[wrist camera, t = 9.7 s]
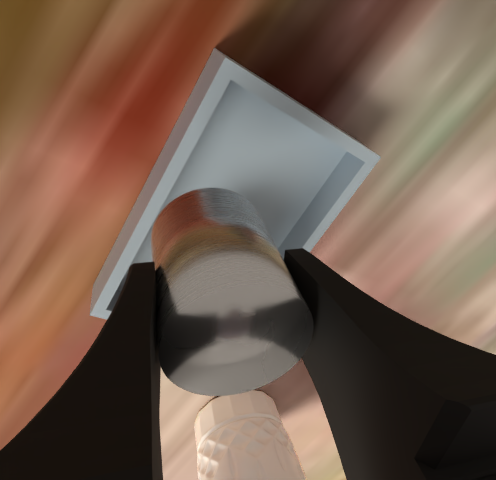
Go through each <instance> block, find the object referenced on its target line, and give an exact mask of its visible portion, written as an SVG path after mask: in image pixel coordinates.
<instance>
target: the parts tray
mask: <svg viewBox="0 0 496 480" xmlns="http://www.w3.org/2000/svg"><path fill="white" fill-rule="evenodd" d="M380 158H381V157H380V156H379V155H377V154H376V153H375V152H373V151H372V150H371V149H369V148H368V147H366V146H365V145H364V144H362V143H361V142H359V141H358V140H356V139H355V138H353V137H352V136H350V135H349V134H347V133H346V132H344V131H343V130H341V129H339V128H338V127H336V126H335V125H333V124H332V123H330V122H329V121H327V120H326V119H324V118H322V117H321V116H319V115H318V114H316V113H315V112H313V111H312V110H310V109H309V108H307V107H305V106H304V105H302V104H301V103H299V102H298V101H296V100H295V99H293V98H292V97H290V96H288V95H287V94H285V93H284V92H282V91H281V90H279V89H278V88H276V87H275V86H273V85H271V84H270V83H268V82H267V81H265V80H264V79H262V78H261V77H259V76H257V75H256V74H254V73H253V72H251V71H250V70H248V69H247V68H245V67H244V66H242V65H240V64H239V63H237V62H236V61H234V60H233V59H231V58H230V57H228V56H227V55H225V54H223V53H222V52H220V51H219V50H217V49H216V48H214V49H213V51H212V53H211V55H210V57H209V59H208V61H207V63H206V65H205V67H204V69H203V71H202V73H201V75H200V77H199V79H198V81H197V83H196V85H195V87H194V89H193V91H192V93H191V94H190V96H189V98H188V100H187V102H186V104H185V106H184V108H183V110H182V112H181V114H180V116H179V118H178V120H177V122H176V124H175V126H174V128H173V130H172V132H171V134H170V136H169V138H168V140H167V141H166V143H165V145H164V147H163V149H162V151H161V153H160V155H159V157H158V159H157V161H156V163H155V165H154V167H153V169H152V171H151V173H150V175H149V177H148V179H147V181H146V183H145V185H144V187H143V189H142V190H141V192H140V194H139V196H138V198H137V200H136V202H135V204H134V206H133V208H132V210H131V212H130V214H129V216H128V218H127V220H126V222H125V224H124V226H123V228H122V230H121V232H120V234H119V236H118V238H117V239H116V241H115V243H114V245H113V247H112V249H111V251H110V253H109V255H108V257H107V259H106V261H105V263H104V265H103V267H102V269H101V271H100V273H99V275H98V277H97V279H96V281H95V283H94V285H93V290H92V299H91V308H90V315H91V316H95V317H99V318H103V319H108V318H109V316H110V314H111V312H112V310H113V308H114V306H115V304H116V302H117V300H118V297H119V295H120V293H121V291H122V288H123V286H124V283H125V281H126V278H127V275H128V271H129V267H130V266H131V265H132V264H133V263H143V262H152V250H151V233H152V229H153V225H154V223H155V221H156V219H157V217H158V215H159V214H160V212H161V211H162V210H163V209H164V208H165V207H166V206H167V205H168V204H169V203H170V202H171V201H173V200H174V199H176V198H177V197H179V196H181V195H183V194H185V193H187V192H190V191H193V190H197V189H201V188H223V189H228V190H231V191H234V192H236V193H239V194H240V195H242V196H244V197H245V198H247V199H248V200H249V201H250V202H251V203H252V204H253V205H254V206H255V208H256V209H257V210H258V212H259V214H260V216H261V218H262V220H263V222H264V224H265V226H266V228H267V230H268V232H269V233H270V235H271V237H272V239H273V241H274V243H275V245H276V247H277V249H278V251H279V253H280V254H281V256H282V258H283V260H284V254H285V250H288V249H299V248H304V249H305V250H307V251H308V252H310V251H311V250H312V248H313V247H314V246H315V244H316V243H317V242H318V240H319V239H320V238H321V237H322V235H323V234H324V233H325V231H326V230H327V229H328V227H329V226H330V225H331V223H332V222H333V221H334V219H335V218H336V217H337V215H338V214H339V213H340V211H341V210H342V209H343V207H344V206H345V205H346V203H347V202H348V201H349V199H350V198H351V197H352V195H353V194H354V193H355V191H356V190H357V189H358V187H359V186H360V185H361V183H362V182H363V181H364V179H365V178H366V177H367V175H368V174H369V173H370V171H371V170H372V169H373V167H374V166H375V165H376V163H377V162H378V161H379V159H380Z"/></svg>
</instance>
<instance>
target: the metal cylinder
mask: <svg viewBox="0 0 496 480" xmlns="http://www.w3.org/2000/svg"><path fill="white" fill-rule="evenodd" d="M151 250H152V262H154V263H155V275H156V288H157V340H158V355H159V362H160V366H161V368H162V370H163V372H164V373H165V375H166V376H167V378H169V379H170V380H171V381H172V382H173V383H174V384H175V385H177V386H178V387H180V388H182V389H184V390H187V391H189V392H192V393H196V394H200V395H208V396H227V395H235V394H240V393H244V392H248V391H251V390H255V389H257V388H260V387H262V386H264V385H266V384H269V383H271V382H272V381H274V380H276V379H278V378H279V377H281V376H282V375H284V374H285V373H286V372H288V371H289V370H290V369H291V368H292V367H293V366H294V365H295V364H296V363H297V362H298V361H299V360H300V359H301V357H302V356H303V355H304V353H305V352H306V350H307V349H308V346H309V344H310V342H311V339H312V335H313V328H314V326H313V318H312V314H311V312H310V310H309V308H308V306H307V304H306V302H305V300H304V298H303V297H302V295H301V293H300V291H299V289H298V287H297V285H296V283H295V281H294V279H293V277H292V275H291V274H290V272H289V270H288V268H287V266H286V264H285V262H284V260H283V258H282V256H281V254H280V253H279V251H278V249H277V247H276V245H275V243H274V241H273V239H272V237H271V235H270V233H269V232H268V230H267V228H266V226H265V224H264V222H263V220H262V218H261V216H260V214H259V212H258V210H257V209H256V208H255V206H254V205H253V204H252V203H251V202H250V201H249V200H248V199H247V198H245V197H244V196H242V195H240V194H239V193H236V192H234V191H231V190H228V189H223V188H201V189H197V190H193V191H190V192H187V193H185V194H183V195H181V196H179V197H177V198H176V199H174V200H173V201H171V202H170V203H169V204H168V205H167V206H166V207H165V208H164V209H163V210H162V211H161V212H160V214H159V215H158V217H157V219H156V221H155V223H154V225H153V229H152V233H151Z"/></svg>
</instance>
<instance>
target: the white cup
mask: <svg viewBox="0 0 496 480" xmlns="http://www.w3.org/2000/svg"><path fill="white" fill-rule="evenodd" d="M194 427H195V436H196V446H197V452H198V455H197V471H198V479H199V480H307V478H306V475H305V473H304V470H303V468H302V465H301V463H300V460H299V458H298V455H297V453H296V451H295V449H294V447H293V444H292V442H291V439H290V437H289V435H288V433H287V432H286V430H285V428H284V427H283V423H282V421H281V418H280V416H279V413H278V411H277V408H276V405H275V403H274V400H273V399H272V398H271V397H269V396H268V395H267V394H265V393H264V392H262V391H256V390H251V391H248V392H244V393H240V394H235V395H227V396H219V397H217V398H215V399H213V400H211V401H210V402H209V403H208V404H207V405H206V406H205V407H204V408H202V409H201V410H200V411H199V413H198V416H197V418H196V421H195V424H194Z"/></svg>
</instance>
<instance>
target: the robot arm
mask: <svg viewBox="0 0 496 480" xmlns="http://www.w3.org/2000/svg"><path fill="white" fill-rule="evenodd" d="M284 262H285V264H286V266H287V268H288V270H289V272H290V274H291V275H292V277H293V279H294V281H295V283H296V285H297V287H298V289H299V291H300V293H301V295H302V297H303V298H304V300H305V302H306V304H307V306H308V308H309V310H310V312H311V314H312V318H313V326H314V328H313V335H312V339H311V342H310V344H309V346H308V349H307V350H306V352H305V353H304V355H303V356H302V359H303V361H304V364H305V366H306V368H307V370H308V372H309V374H310V376H311V378H312V380H313V383H314V385H315V387H316V390H317V392H318V394H319V397H320V399H321V402H322V405H323V408H324V411H325V414H326V417H327V419H328V422H329V425H330V428H331V431H332V434H333V437H334V440H335V443H336V447H337V450H338V453H339V456H340V459H341V462H342V466H343V469H344V472H345V476H346V479H347V480H496V355H494V354H491V353H488V352H485V351H483V350H480V349H477V348H475V347H472V346H469V345H467V344H464V343H461V342H459V341H456V340H454V339H451V338H449V337H447V336H444V335H442V334H440V333H438V332H435V331H433V330H431V329H429V328H427V327H424V326H422V325H420V324H418V323H416V322H414V321H412V320H410V319H408V318H406V317H405V316H403V315H401V314H399V313H397V312H395V311H394V310H392V309H390V308H388V307H387V306H385V305H383V304H382V303H380V302H378V301H377V300H375V299H374V298H372V297H371V296H369V295H367V294H366V293H364V292H363V291H361V290H360V289H358V288H357V287H355V286H354V285H353V284H351V283H350V282H348V281H347V280H346V279H344V278H343V277H341V276H340V275H339V274H337V273H336V272H335V271H333V270H332V269H331V268H329V267H328V266H327V265H325V264H324V263H323V262H321V261H320V260H319V259H317V258H316V257H315V256H313V255H312V254H311V253H309V252H308V251H307V250H305V249H304V248H299V249H288V250H285V254H284ZM160 367H161V366H160V362H159V355H158V340H157V288H156V275H155V263H154V262H143V263H133V264H132V265H131V266H130V267H129V271H128V275H127V278H126V281H125V283H124V286H123V288H122V291H121V293H120V295H119V297H118V300H117V302H116V304H115V306H114V308H113V310H112V312H111V314H110V316H109V318H108V319H107V321H106V323H105V324H104V326H103V328H102V330H101V331H100V333H99V335H98V337H97V338H96V340H95V341H94V343H93V344H92V346H91V348H90V349H89V350H88V352H87V353H86V355H85V356H84V358H83V359H82V360H81V362H80V363H79V365H78V366H77V367H76V369H75V370H74V371H73V372H72V374H71V375H70V376H69V378H68V379H67V380H66V381H65V383H64V384H63V385H62V386H61V388H60V389H59V390H58V391H57V392H56V394H55V395H54V396H53V397H52V398H51V399H50V400H49V401H48V403H47V404H46V405H45V406H44V407H43V408H42V409H41V410H40V411H39V412H38V413H37V414H36V416H35V417H34V418H33V419H32V420H31V421H30V422H29V423H28V424H27V425H26V426H25V427H24V428H23V429H22V430H21V431H20V432H19V433H18V434H17V435H16V436H15V437H14V438H13V439H12V440H11V441H10V442H9V443H8V444H7V445H6V446H5V447H4V448H3V449H1V450H0V480H163V473H162V457H161V442H160V426H159V404H160Z"/></svg>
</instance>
